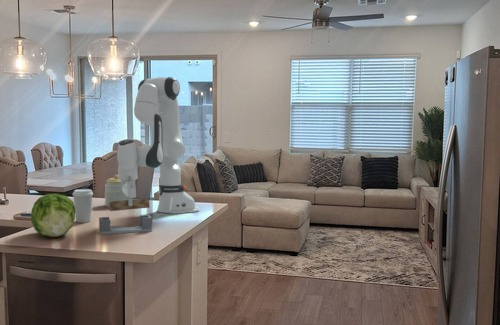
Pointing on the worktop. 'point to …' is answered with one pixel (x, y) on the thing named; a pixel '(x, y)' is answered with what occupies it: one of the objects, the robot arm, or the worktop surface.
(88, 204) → the coffee cup
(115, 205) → the slat
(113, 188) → the jar
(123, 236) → the worktop surface
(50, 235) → the lettuce
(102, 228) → the grey cradle
